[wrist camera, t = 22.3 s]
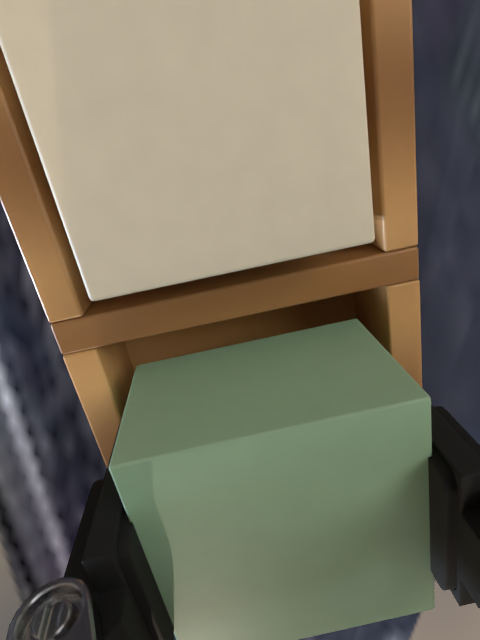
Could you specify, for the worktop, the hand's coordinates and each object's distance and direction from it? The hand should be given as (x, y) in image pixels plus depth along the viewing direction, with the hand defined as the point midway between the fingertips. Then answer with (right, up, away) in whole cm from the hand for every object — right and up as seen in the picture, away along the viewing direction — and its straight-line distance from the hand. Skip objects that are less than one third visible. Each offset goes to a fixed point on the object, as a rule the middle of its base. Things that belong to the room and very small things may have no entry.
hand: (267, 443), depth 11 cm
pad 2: (0, 0, 0) cm, 0 cm away
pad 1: (-2, +8, -1) cm, 8 cm away
